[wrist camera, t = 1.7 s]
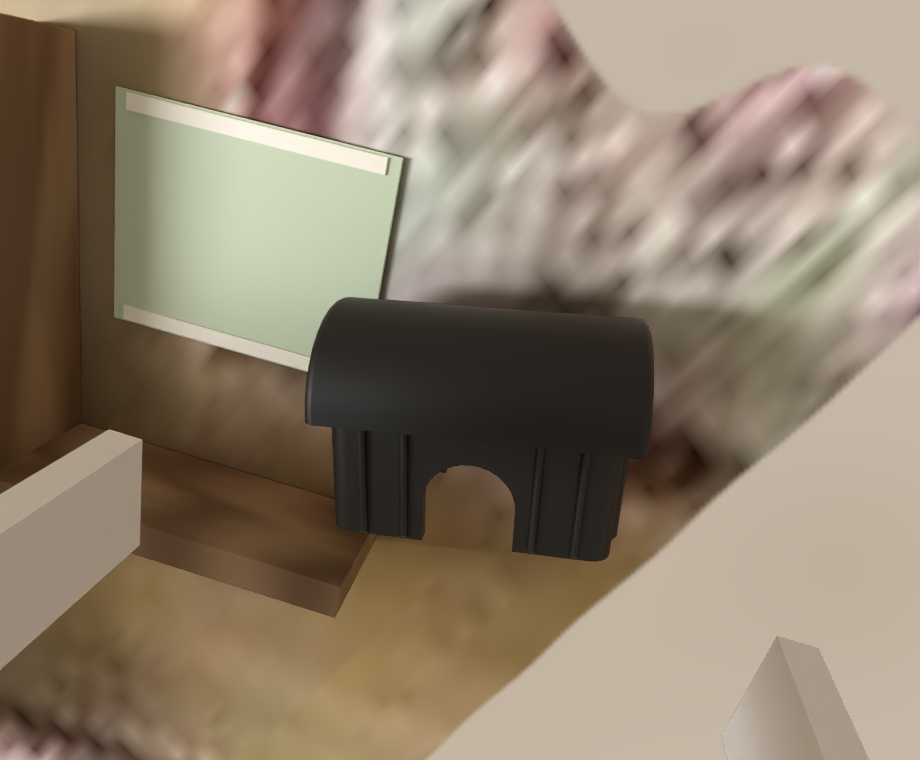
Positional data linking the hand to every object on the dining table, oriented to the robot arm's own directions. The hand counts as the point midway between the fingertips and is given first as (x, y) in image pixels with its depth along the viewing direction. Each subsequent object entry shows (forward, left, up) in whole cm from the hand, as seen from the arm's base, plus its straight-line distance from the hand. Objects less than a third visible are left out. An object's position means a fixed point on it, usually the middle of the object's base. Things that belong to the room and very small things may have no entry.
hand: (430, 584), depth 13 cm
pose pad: (-11, +2, -13) cm, 17 cm away
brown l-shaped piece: (-12, 0, -13) cm, 17 cm away
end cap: (0, 0, -13) cm, 13 cm away
